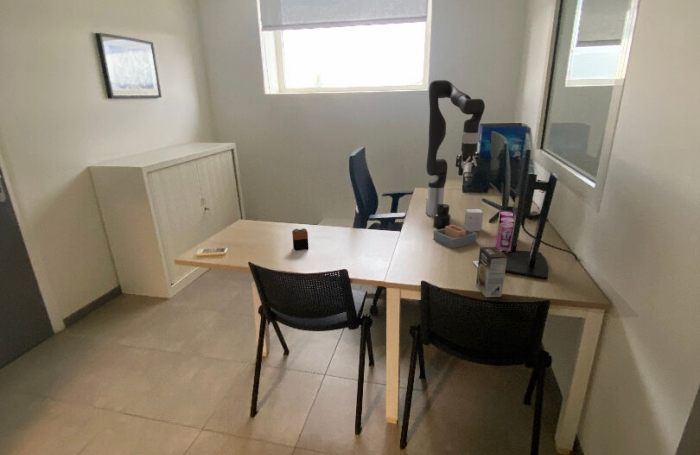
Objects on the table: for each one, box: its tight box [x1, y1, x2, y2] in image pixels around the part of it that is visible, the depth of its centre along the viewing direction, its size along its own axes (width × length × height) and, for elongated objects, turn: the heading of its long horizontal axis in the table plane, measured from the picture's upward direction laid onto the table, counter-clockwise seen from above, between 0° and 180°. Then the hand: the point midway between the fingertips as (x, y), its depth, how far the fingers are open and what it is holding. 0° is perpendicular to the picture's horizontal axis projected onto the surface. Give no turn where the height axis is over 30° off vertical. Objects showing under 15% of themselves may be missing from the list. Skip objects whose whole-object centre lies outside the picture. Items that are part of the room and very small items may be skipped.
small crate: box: [445, 224, 466, 239], centre depth 186 cm, size 9×5×6 cm, turn 29°
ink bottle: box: [432, 203, 451, 230], centre depth 205 cm, size 10×9×12 cm
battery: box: [291, 228, 309, 252], centre depth 179 cm, size 4×7×10 cm, turn 105°
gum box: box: [494, 209, 514, 251], centre depth 181 cm, size 24×8×14 cm, turn 158°
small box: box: [463, 208, 484, 232], centre depth 201 cm, size 8×6×10 cm
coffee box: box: [475, 246, 508, 298], centre depth 138 cm, size 9×6×16 cm
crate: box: [432, 225, 478, 249], centre depth 187 cm, size 13×15×5 cm
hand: (466, 174), depth 191 cm, fingers open, 8 cm apart
